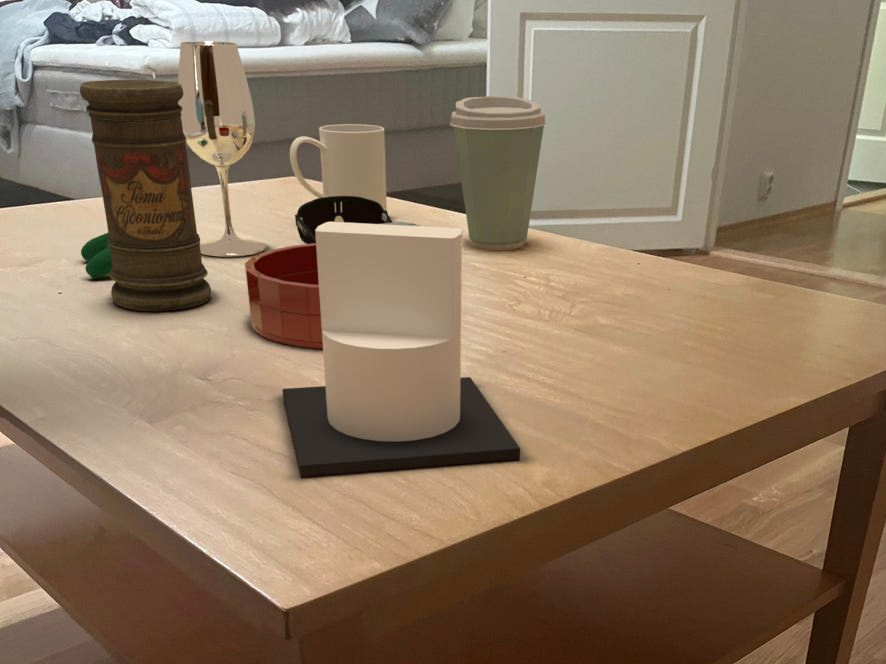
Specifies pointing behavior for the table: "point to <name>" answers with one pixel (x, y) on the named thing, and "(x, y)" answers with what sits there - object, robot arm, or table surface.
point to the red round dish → (286, 295)
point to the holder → (341, 453)
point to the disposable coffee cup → (498, 166)
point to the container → (146, 194)
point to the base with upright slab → (390, 328)
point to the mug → (348, 162)
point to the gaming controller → (97, 256)
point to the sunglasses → (337, 214)
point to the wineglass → (217, 123)
